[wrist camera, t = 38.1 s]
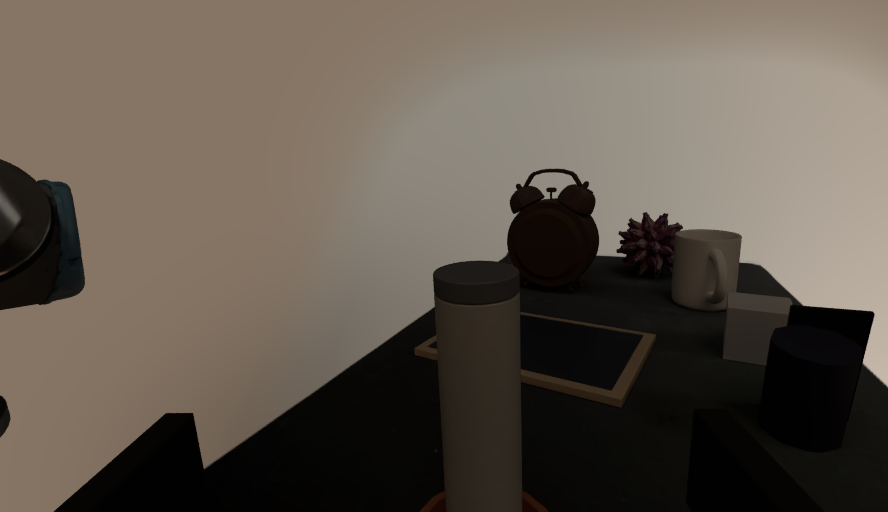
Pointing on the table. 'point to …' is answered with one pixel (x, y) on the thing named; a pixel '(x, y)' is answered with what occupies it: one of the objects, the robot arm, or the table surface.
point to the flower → (649, 244)
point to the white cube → (752, 325)
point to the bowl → (437, 504)
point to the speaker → (813, 375)
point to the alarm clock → (553, 232)
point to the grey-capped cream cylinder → (480, 384)
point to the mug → (705, 268)
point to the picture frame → (575, 357)
